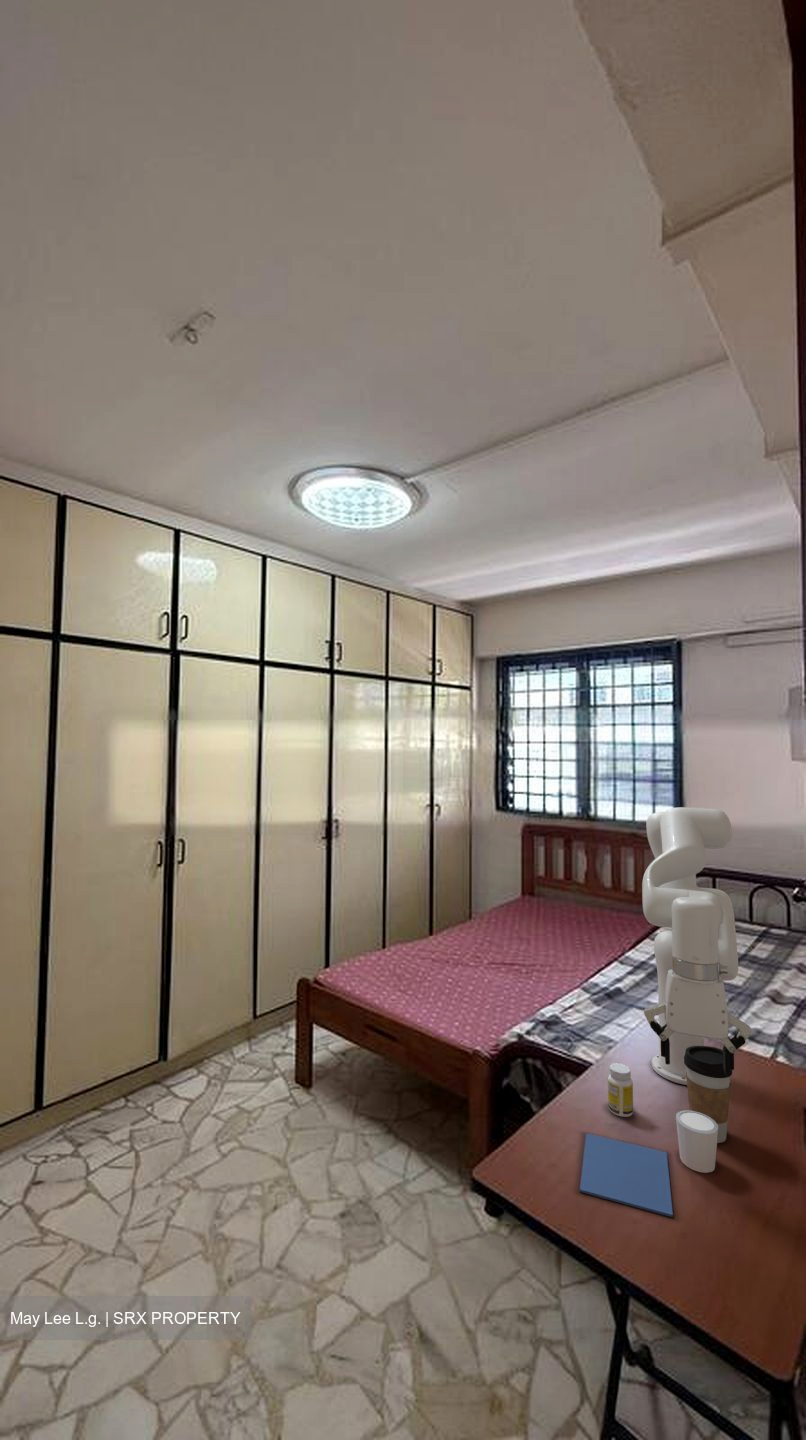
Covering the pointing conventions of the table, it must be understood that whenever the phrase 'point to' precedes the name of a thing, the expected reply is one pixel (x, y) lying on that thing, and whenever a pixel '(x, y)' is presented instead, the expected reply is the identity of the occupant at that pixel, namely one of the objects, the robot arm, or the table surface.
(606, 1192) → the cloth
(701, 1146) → the white cup
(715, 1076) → the coffee cup
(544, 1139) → the table surface
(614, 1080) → the supplement bottle
